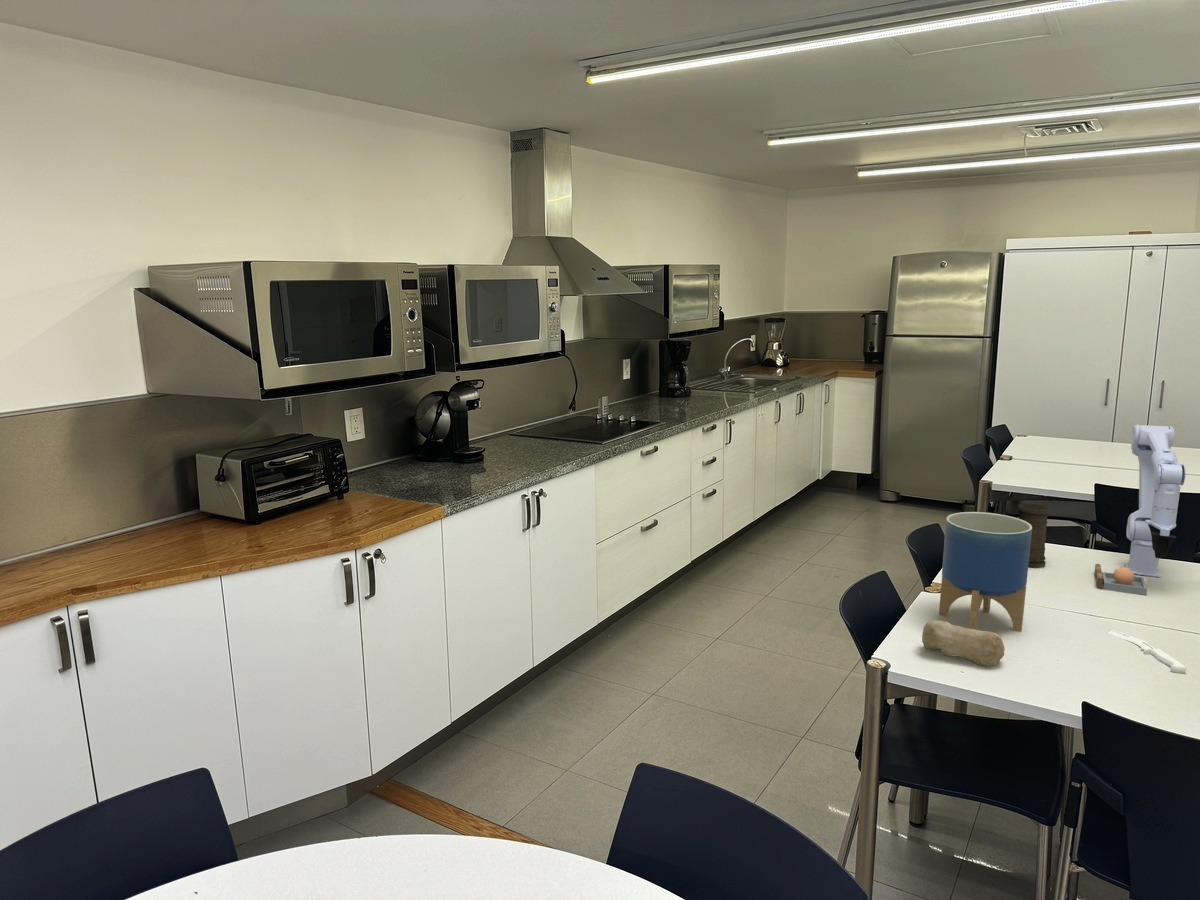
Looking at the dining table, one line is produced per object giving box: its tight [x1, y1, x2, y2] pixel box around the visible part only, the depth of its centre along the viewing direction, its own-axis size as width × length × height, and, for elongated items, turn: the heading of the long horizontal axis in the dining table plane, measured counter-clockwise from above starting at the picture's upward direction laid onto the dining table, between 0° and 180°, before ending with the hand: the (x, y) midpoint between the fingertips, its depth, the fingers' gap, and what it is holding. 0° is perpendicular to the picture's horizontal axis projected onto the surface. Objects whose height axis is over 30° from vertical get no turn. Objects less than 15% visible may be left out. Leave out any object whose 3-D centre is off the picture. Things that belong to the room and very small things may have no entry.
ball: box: [1113, 566, 1135, 585], centre depth 230 cm, size 5×5×5 cm
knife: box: [1108, 629, 1187, 674], centre depth 193 cm, size 30×2×8 cm
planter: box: [938, 511, 1032, 633], centre depth 204 cm, size 19×19×26 cm
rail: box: [1093, 563, 1103, 590], centre depth 235 cm, size 14×1×3 cm, turn 152°
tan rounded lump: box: [921, 619, 1006, 667], centre depth 186 cm, size 9×17×10 cm
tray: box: [1102, 571, 1148, 596], centre depth 230 cm, size 10×10×2 cm
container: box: [1017, 503, 1050, 569], centre depth 249 cm, size 9×9×18 cm
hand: (1158, 554), depth 227 cm, fingers open, 7 cm apart
